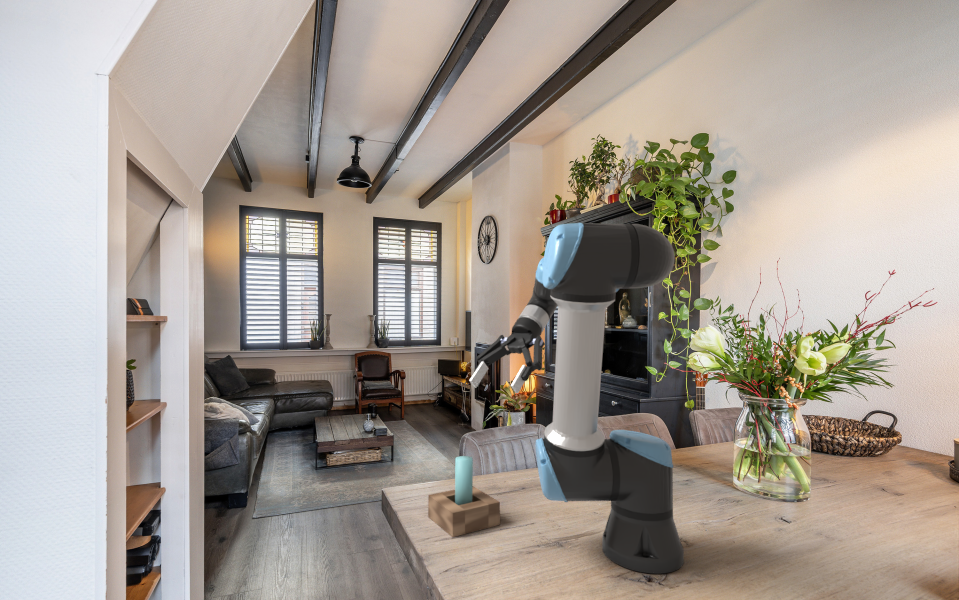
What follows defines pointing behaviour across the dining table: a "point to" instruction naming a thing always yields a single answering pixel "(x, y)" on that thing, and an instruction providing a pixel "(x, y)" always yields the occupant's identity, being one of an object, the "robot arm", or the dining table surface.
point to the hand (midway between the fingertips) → (492, 386)
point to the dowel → (463, 480)
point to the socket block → (463, 512)
